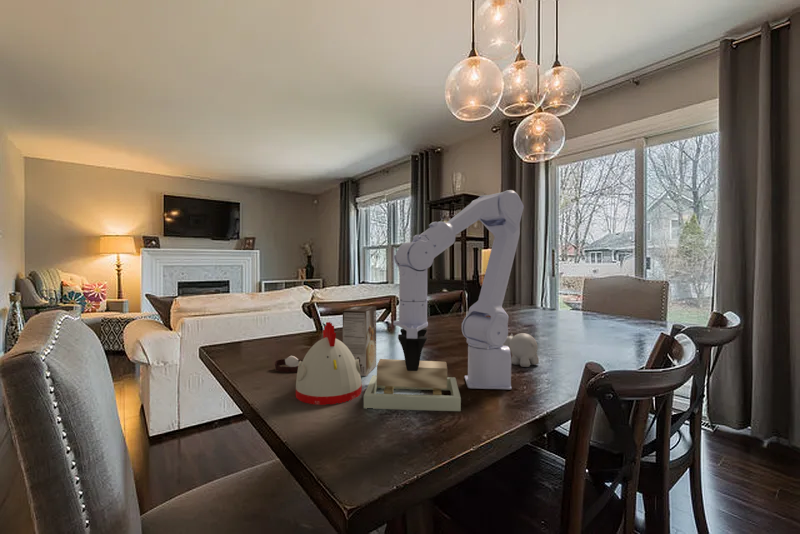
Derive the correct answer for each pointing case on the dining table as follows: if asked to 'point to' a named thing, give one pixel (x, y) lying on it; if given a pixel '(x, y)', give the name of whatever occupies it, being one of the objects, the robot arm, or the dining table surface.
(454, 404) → the peg frame
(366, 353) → the coffee box
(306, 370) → the kitchen timer
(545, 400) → the dining table surface
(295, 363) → the watch
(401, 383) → the board
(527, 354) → the round bodied animal figurine
